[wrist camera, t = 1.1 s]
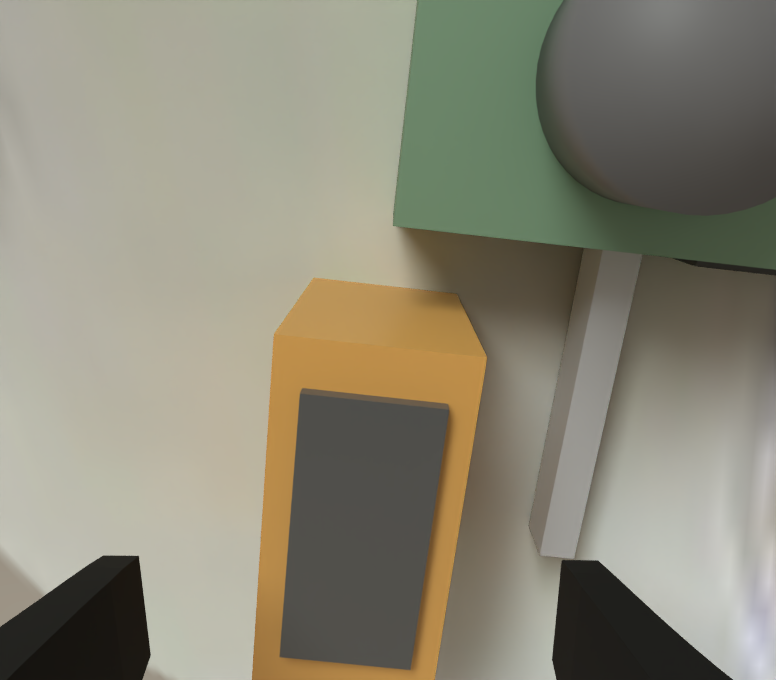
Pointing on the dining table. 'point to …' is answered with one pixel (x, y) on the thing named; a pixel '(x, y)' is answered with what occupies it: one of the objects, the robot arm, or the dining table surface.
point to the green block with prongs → (594, 168)
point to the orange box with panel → (364, 481)
